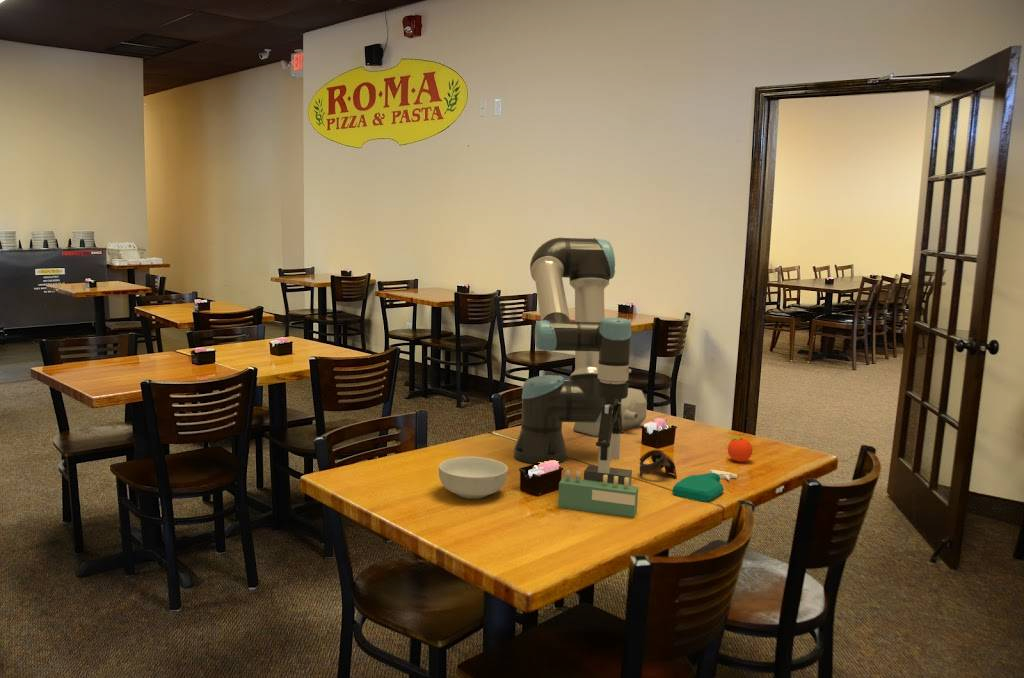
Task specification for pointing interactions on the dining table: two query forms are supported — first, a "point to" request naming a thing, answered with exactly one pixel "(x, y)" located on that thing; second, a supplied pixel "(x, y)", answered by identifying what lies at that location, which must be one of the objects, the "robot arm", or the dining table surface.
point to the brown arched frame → (657, 463)
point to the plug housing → (594, 475)
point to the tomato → (739, 449)
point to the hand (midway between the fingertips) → (608, 465)
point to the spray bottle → (702, 485)
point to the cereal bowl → (472, 476)
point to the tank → (631, 414)
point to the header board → (598, 496)
